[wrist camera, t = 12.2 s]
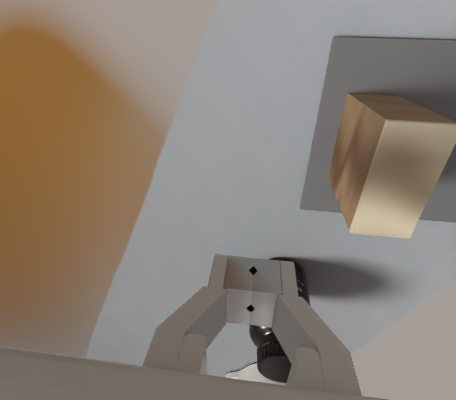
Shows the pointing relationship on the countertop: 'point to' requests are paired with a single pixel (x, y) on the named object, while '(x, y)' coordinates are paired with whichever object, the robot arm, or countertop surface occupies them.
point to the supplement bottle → (276, 340)
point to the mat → (384, 85)
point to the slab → (387, 162)
